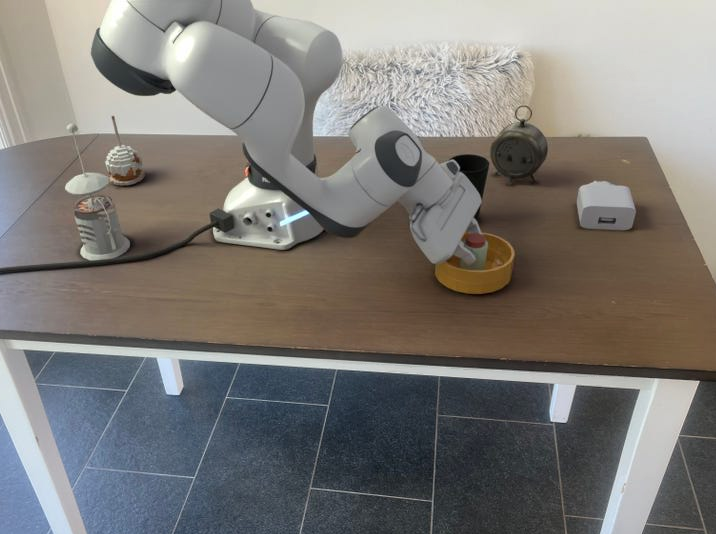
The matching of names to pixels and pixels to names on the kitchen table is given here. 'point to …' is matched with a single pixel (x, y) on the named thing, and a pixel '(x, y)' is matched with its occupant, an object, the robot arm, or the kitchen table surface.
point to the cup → (474, 172)
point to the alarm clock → (519, 150)
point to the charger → (605, 206)
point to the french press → (95, 215)
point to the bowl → (479, 280)
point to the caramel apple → (123, 163)
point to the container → (476, 251)
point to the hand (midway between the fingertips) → (477, 252)
